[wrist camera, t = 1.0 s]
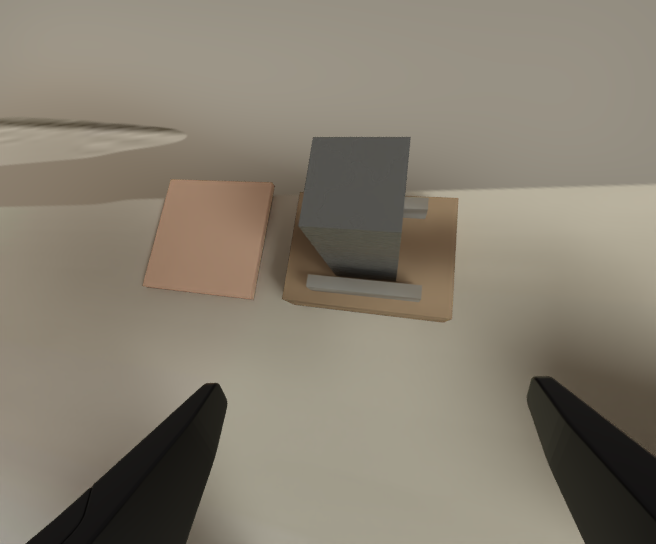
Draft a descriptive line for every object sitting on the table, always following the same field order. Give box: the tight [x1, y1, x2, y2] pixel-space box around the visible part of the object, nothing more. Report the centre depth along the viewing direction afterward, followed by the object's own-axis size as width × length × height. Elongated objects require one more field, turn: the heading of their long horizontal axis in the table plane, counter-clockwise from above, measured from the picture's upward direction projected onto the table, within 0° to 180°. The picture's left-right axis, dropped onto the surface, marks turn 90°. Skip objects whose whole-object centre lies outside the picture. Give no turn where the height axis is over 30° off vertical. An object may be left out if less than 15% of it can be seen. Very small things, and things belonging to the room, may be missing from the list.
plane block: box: [282, 192, 458, 322], centre depth 22 cm, size 8×11×4 cm
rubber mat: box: [143, 179, 275, 300], centre depth 27 cm, size 10×10×1 cm
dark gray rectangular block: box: [298, 137, 410, 281], centre depth 17 cm, size 5×4×9 cm
